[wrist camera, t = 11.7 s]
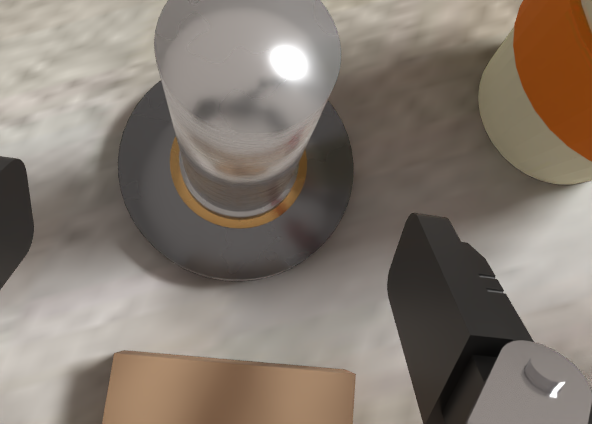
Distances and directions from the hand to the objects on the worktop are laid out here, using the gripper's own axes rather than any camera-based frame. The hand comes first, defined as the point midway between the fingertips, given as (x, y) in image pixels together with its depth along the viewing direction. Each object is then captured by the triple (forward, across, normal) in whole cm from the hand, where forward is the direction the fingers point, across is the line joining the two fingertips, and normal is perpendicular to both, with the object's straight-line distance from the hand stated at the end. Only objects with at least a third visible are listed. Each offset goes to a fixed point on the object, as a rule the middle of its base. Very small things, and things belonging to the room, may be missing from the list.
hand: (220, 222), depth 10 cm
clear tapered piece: (+12, 0, +4) cm, 13 cm away
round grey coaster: (+13, 0, +5) cm, 14 cm away
